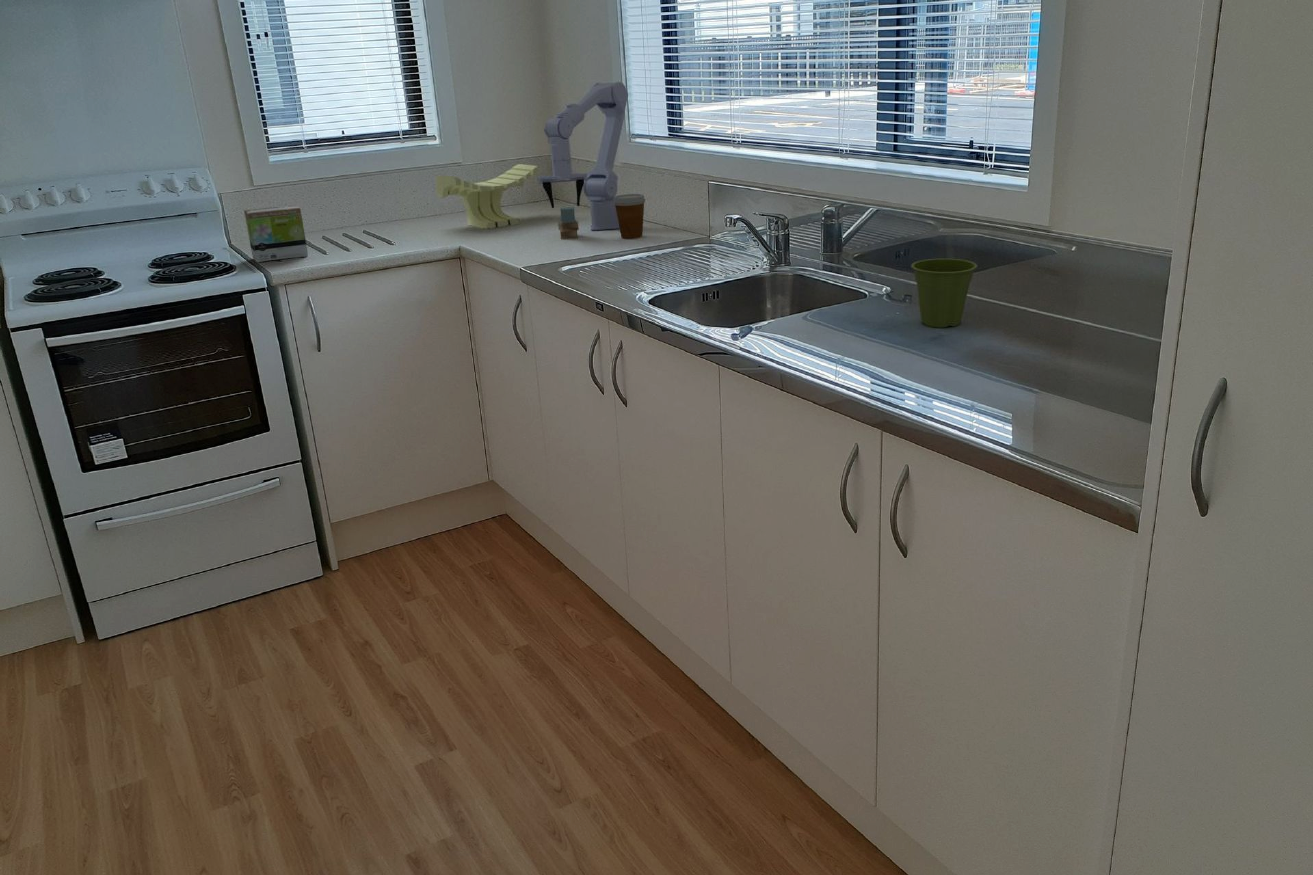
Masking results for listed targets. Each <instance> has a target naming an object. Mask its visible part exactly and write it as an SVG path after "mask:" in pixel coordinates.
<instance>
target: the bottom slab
mask: <svg viewBox="0 0 1313 875" xmlns="http://www.w3.org/2000/svg"><path fill="white" fill-rule="evenodd" d="M559 231H560V230H559ZM559 233H560V234H559V235H560V239H561V240H568V239H570V238H571V239H578V230H575V231H566V232H562V231H560V232H559Z"/></svg>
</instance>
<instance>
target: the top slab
mask: <svg viewBox="0 0 1313 875" xmlns="http://www.w3.org/2000/svg"><path fill="white" fill-rule="evenodd" d="M557 226H558V230H559V231H562V232H566V231H575V230H577V231H579V221H577V220H576V219H575V222H572V223H562V221H561V220H557Z"/></svg>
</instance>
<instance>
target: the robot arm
mask: <svg viewBox="0 0 1313 875" xmlns="http://www.w3.org/2000/svg"><path fill="white" fill-rule="evenodd" d="M628 97H629V92H628V90H627V88H626V85H625V84H624V83H623V82H621V81H616V82H596V83H595V84H594V85H592V86H591V87H590V90H589V91H588V93H586V94H585V95H584V96H583V97H582V98H581V99H580V100H579V101H578V102H577V103H567V105H566V107H565V109H564V110H562V111H561V112H558V113H557V115H556V116H555V117H551V118H548V120H547V121H546V122H545V126H544V128H543V131H544V134H545V136H546V137H547V142H548V144H549V146H550V148H549V149H550V157H551V166H552V167H551V168H552V175H542V176H538V178H537V179H538V184H539V185H542V187H543V190H544V191H545V192H546V195H547V197H548V200H549V202H550V206H551V208H552V209H554V208H555V201H554V196H553V186H552V183H554V184H555V183H564V182H565V183H566V182H575V188H576V206H577V207H580V204H581V202H580V201H581V194H582V192H583V193H584V195H585V197H586V198H587V201H589V208H590V218H591V219H590V220H591V224H590V230H591V231H602V230H603V231H604V230H616V229H617V230H618V229H620V228H619V223H618V218H617V212H616V208H615V205H614V203H613V201H614V198H615V196H617V192H618V179H619V176H618V175H617V173H615V171H614V170H613V169H614V165H615V161H616V157H617V151H618V147H619V143H620V137H621V134H622V129H623V124H624V120H625V115H626V114H625V111H626V106H627V102H628ZM595 106H597V107H598V109H599V110H600V111H601V113H602V114H603V115H605V122H604V127H603V131H602V136H601V139H600V144H599V148H598V151H597V152H598V153H597V158H596V162H595V165H594V167H593V168H591V170H589V171H588V172H585V173H582V172H581V173H573V169H572V156H571V145H570V138H571V136H572V134H573V131H574V129H575V127H577V126H578V125H579V124H580V123H582V122H583V121H584V120H585V114H586V113H587V112H589V111H590V110H591V109H593V108H594V107H595Z"/></svg>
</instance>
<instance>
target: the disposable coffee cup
mask: <svg viewBox="0 0 1313 875" xmlns="http://www.w3.org/2000/svg"><path fill="white" fill-rule="evenodd" d="M613 203H614V205H615V208H616V212H617V218H618V223H619V228H618V229H619V232H620V236H621V237H620V238H621V239H624V240H634V239H639V238H642V237H643V228H644V211H645V203H646V199H645V195H644V194H642V193H627V194H620V195H615V197H614V201H613Z"/></svg>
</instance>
